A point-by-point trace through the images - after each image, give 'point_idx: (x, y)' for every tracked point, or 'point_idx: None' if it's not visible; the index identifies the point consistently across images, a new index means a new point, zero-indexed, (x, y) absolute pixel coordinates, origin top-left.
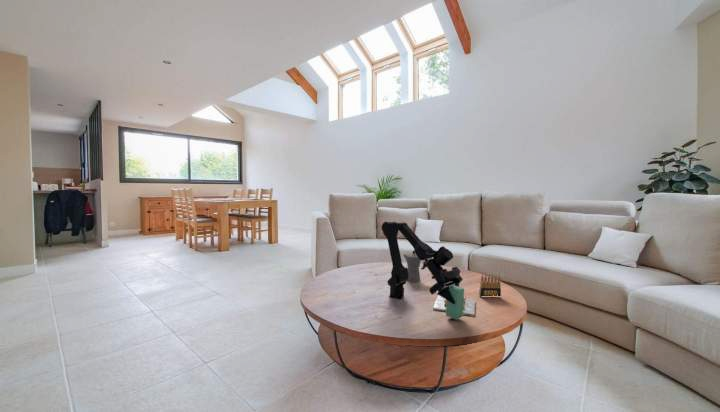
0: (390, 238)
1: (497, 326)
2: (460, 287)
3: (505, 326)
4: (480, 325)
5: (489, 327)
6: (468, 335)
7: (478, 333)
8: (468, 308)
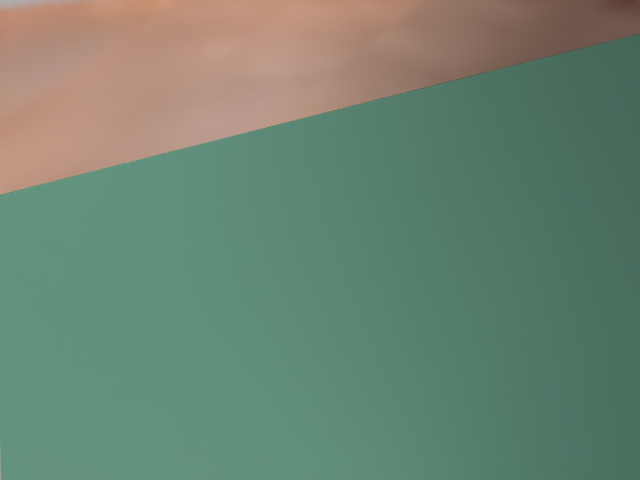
0: None
1: (92, 40)
2: (44, 473)
3: (18, 10)
4: (246, 131)
5: (195, 56)
6: (599, 9)
7: (442, 3)
8: None
